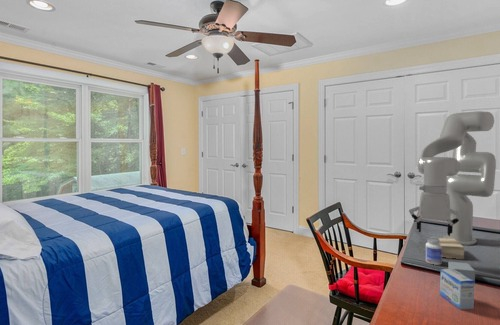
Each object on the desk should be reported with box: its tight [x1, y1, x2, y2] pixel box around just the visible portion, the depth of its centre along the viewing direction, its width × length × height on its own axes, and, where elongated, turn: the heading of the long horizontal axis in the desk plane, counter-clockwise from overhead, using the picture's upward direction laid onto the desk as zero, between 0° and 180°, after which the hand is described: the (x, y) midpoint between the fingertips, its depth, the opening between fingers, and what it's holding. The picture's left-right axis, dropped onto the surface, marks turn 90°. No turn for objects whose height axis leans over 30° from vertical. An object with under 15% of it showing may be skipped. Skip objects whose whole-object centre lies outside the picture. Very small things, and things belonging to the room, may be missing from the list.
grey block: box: [447, 261, 476, 283], centre depth 100 cm, size 6×6×4 cm
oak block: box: [437, 237, 465, 260], centre depth 119 cm, size 10×10×5 cm
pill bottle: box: [425, 236, 443, 266], centre depth 111 cm, size 5×5×10 cm
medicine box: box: [439, 268, 475, 311], centre depth 85 cm, size 8×4×9 cm, turn 5°
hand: (433, 233), depth 111 cm, fingers open, 9 cm apart
